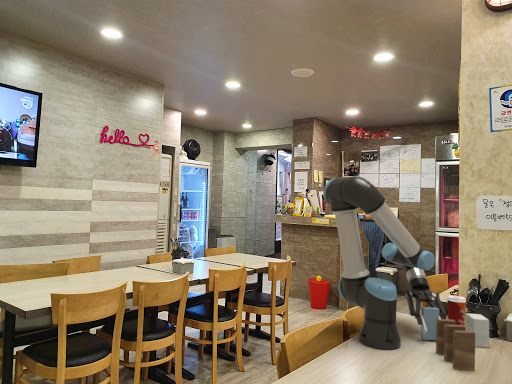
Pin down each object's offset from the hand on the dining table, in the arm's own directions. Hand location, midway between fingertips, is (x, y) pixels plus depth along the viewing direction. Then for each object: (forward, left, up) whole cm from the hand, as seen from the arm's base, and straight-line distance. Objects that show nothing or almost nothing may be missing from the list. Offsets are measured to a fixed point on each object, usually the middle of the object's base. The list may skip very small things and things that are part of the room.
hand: (434, 332), depth 142 cm
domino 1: (+5, -8, -4) cm, 10 cm away
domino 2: (+8, -13, -4) cm, 16 cm away
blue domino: (-2, +3, -4) cm, 5 cm away
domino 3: (+11, -19, -4) cm, 22 cm away
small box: (+14, +11, -5) cm, 19 cm away
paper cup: (+6, +25, -4) cm, 26 cm away
